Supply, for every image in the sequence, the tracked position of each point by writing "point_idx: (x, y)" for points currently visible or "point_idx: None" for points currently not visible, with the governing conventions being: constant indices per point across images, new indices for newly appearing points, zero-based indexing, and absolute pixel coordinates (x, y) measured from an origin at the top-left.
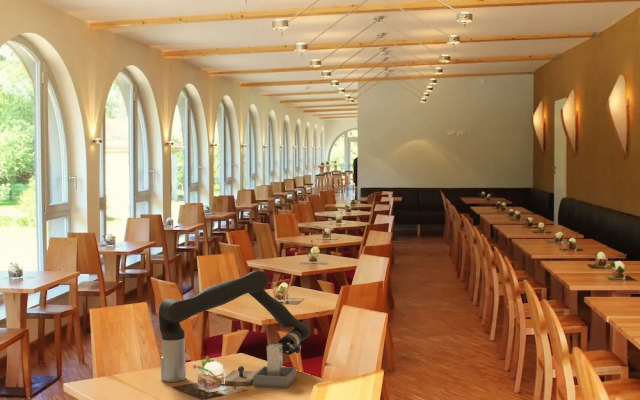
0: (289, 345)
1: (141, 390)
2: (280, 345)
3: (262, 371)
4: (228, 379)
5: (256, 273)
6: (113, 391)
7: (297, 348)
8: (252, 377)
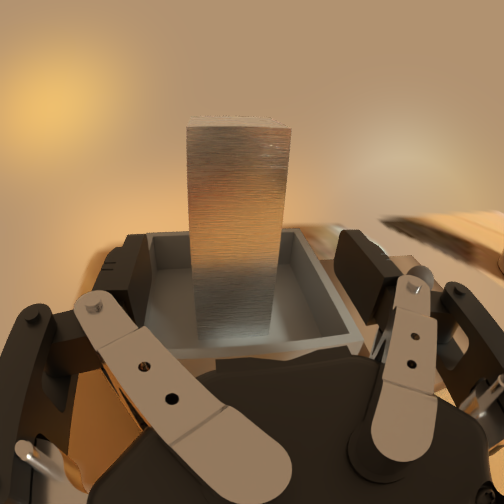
0: (149, 332)
1: (478, 225)
2: (193, 122)
3: (330, 317)
4: (405, 267)
5: None
6: (494, 219)
7: (40, 313)
8: (350, 302)
